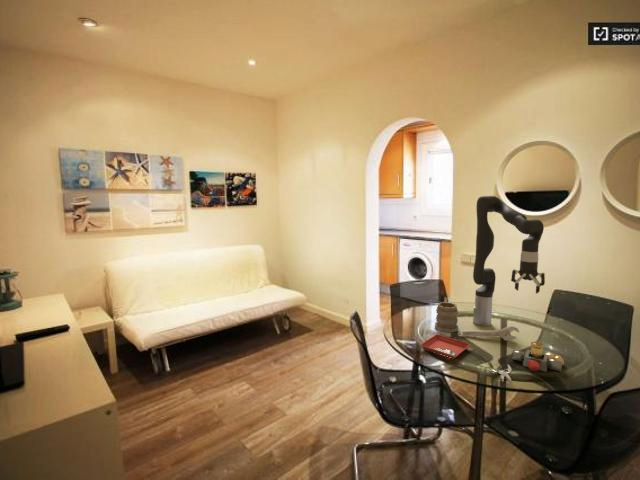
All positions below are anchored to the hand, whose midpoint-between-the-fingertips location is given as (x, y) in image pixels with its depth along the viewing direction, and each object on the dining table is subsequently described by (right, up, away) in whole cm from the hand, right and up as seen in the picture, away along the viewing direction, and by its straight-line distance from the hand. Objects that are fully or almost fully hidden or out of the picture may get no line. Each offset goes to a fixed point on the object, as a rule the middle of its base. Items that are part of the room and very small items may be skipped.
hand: (526, 291), depth 176 cm
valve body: (-7, -31, -18) cm, 37 cm away
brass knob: (-6, -29, -17) cm, 34 cm away
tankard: (-30, -25, +30) cm, 49 cm away
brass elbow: (+3, -28, -12) cm, 31 cm away
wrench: (-14, -27, +12) cm, 33 cm away
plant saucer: (-41, -30, 0) cm, 51 cm away
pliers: (-24, -33, -22) cm, 47 cm away
